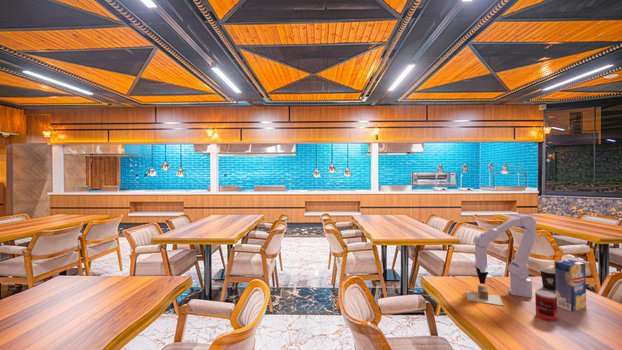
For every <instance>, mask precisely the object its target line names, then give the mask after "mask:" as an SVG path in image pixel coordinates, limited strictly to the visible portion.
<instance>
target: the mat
mask: <svg viewBox="0 0 622 350" xmlns="http://www.w3.org/2000/svg"><path fill="white" fill-rule="evenodd" d="M465 295H466V301H468V302H474V301H476V303H483V304H486V305H487V304H489V305H494V306H502V307H504V304H503V301H502V299H501V296H500V295H494V294H489V293H488V300H486V299H479V294H478V292H475V291H467V290H466V291H465Z"/></svg>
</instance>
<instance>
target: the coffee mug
mask: <svg viewBox="0 0 622 350" xmlns="http://www.w3.org/2000/svg"><path fill="white" fill-rule="evenodd" d="M539 271H540V276H541V283H542V288H543V289H545V290H547V291H555V292H556V284H555V269H550V268H540V269H539Z"/></svg>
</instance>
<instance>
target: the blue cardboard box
mask: <svg viewBox="0 0 622 350" xmlns="http://www.w3.org/2000/svg"><path fill="white" fill-rule="evenodd" d="M554 270H555V284H556V291H555V295H556V296H557V307H559V308H562V309H565V310H568V311H570V312H576V311H579V309H580V310H583V309H586V308H587V285H586V284H587V282H586V281H587V278H586V276H587V275H586V263H585V262H581V261H577V260H573V259H570V258H569V259H565V260H558V261H554ZM585 307H586V308H585ZM582 308H583V309H582Z"/></svg>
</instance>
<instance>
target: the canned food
mask: <svg viewBox="0 0 622 350" xmlns="http://www.w3.org/2000/svg"><path fill="white" fill-rule="evenodd" d="M534 295H535V315H536V317H538V318H540V319H541V320H544V321H548V322H556V321H557V320H558V306H557V296H556V293H554V292H550V291H549V290H541V289H537V290H535V294H534Z"/></svg>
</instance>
